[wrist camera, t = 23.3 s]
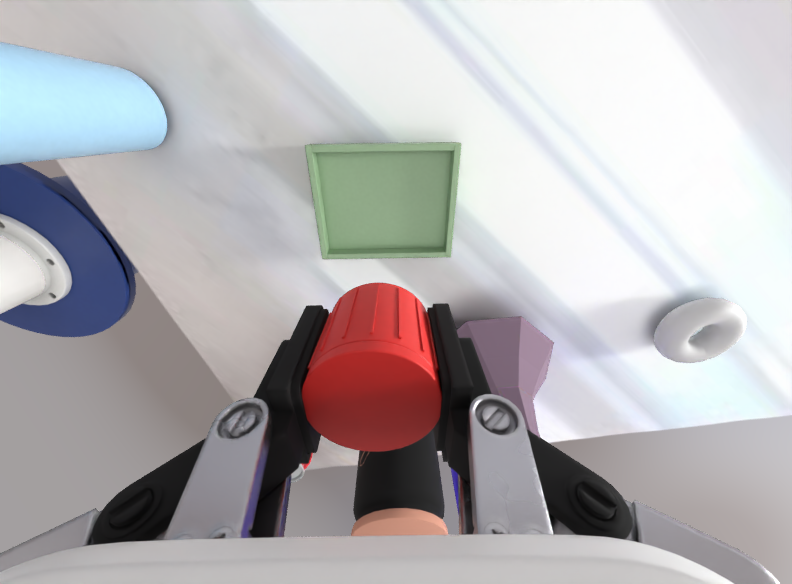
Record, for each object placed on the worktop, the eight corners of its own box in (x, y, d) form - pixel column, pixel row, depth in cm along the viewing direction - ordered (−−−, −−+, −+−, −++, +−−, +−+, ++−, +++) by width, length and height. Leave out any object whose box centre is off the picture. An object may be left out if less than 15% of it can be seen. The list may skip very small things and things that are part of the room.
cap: (450, 315, 11) (474, 393, 7) (393, 378, 12) (392, 468, 9) (362, 261, 10) (343, 322, 6) (312, 337, 11) (276, 420, 8)
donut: (718, 278, 36) (637, 320, 39) (749, 291, 33) (658, 336, 36) (733, 326, 40) (658, 362, 43) (761, 342, 37) (678, 379, 40)
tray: (325, 252, 33) (322, 259, 31) (310, 144, 27) (304, 145, 26) (447, 250, 33) (450, 257, 31) (457, 142, 27) (461, 143, 26)
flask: (448, 281, 35) (502, 429, 18) (563, 311, 38) (708, 468, 20) (408, 373, 43) (418, 537, 26) (505, 393, 46) (574, 555, 28)
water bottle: (112, 151, 27) (-329, 192, 11) (72, 67, 24) (-654, -64, 7) (179, 148, 27) (-158, 186, 11) (147, 64, 24) (-409, -73, 7)
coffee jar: (366, 376, 43) (351, 515, 28) (435, 381, 44) (458, 520, 29) (363, 420, 49) (349, 558, 33) (424, 424, 49) (439, 561, 34)
